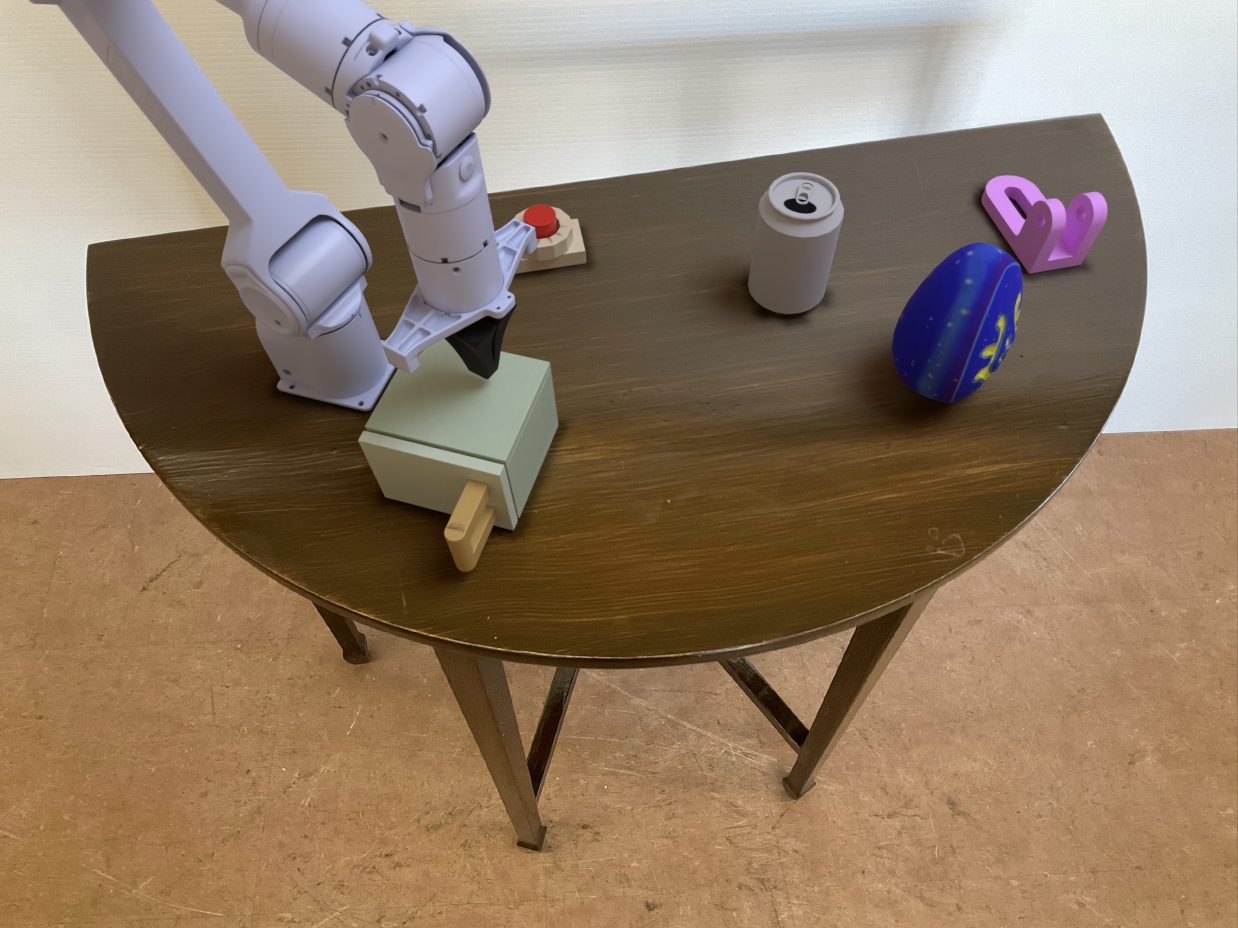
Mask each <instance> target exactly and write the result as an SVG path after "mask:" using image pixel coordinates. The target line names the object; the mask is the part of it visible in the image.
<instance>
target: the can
mask: <svg viewBox="0 0 1238 928" xmlns="http://www.w3.org/2000/svg"><path fill="white" fill-rule="evenodd" d="M844 208H845V207H844V205H843V202H842V200H841V194H840V192H839V188H838V187H836V185H835V184H834V183H833V182H832V181H830V180H828V179H827V178H826V177H824V176H821V175H819V174H816V173H812V172H805V171H804V172H803V171H800V172H799V171H798V172H791V173H787V174H784V175H781V176H779V177H777V178H776V179H775V180H773V181H772V182H771V184H770V186H769V187H768V189H767V190H766V191H765V192H764V194H763V195H762V196H761V197H760V199H759V204H758V209H757V216H756V225H755V232H754V236H753V237H754V238H753V246H752V253H751V258H750V259H751V260H750V265H749V266H750V267H749V274H748V281H747V287H748V291H749V294H750V295H751V297H752V298H753V300H754V301H755V302H757V304H759V305H760V306H762V307H763V308H765V309H767V310H769V311H771V312H774V313H776V314H781V315H792V314H801V313H804V312H807V311H810V310H812V309H813V308H815V307H816V306H817V305H819V304H820V303H821V302H822V299H823V298H824V296H825V293H826V288H827V286H828V285H827V284H828V282H829V277H830V273H831V270H832V264H833V260H834V256H835V253H836V249H837V245H838V242H839V241H838V240H839V238H840V237H839V236H840V232H841V228H842V225H843V224H842V223H843V220H844V215H845V209H844Z"/></svg>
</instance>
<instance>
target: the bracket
mask: <svg viewBox="0 0 1238 928" xmlns="http://www.w3.org/2000/svg"><path fill="white" fill-rule="evenodd" d="M1010 199H1012V200H1014V201H1016V203H1017V204H1018V206H1019V207H1020V209H1021V210H1022V212H1023V213H1024V214H1025V215H1026V218H1023V217H1022V215H1021V214H1020V212H1019V211H1018V210H1017V208H1016V206H1015V205H1014V204H1013V203H1012V201H1011V200H1010ZM981 204H982V206H983V208H984V209H985V211H986V212H987V213H988V215H989V217H990V218H991V220H992V221H993V223H994V224H995V226H996V227H997V229H998V230H999V231H1000V233H1001V234H1002V237H1004V239H1005V240H1006V242H1007V243H1008V245H1009V247H1010V248H1011V250H1012V251H1013V252H1014V254H1015V255H1016V257H1017V258H1018V260H1019V261H1020V263H1021V264H1022V265H1023V268H1024V269H1025V270H1026V271H1027V273H1028V274H1029V275H1031V274H1035V273H1041V272H1046V271H1047V272H1048V271H1053V270H1058V269H1065V268H1071V267H1076V266H1081V265H1082V264H1083V262H1084V260H1086V257H1087V256H1088V254H1089V251H1090V250H1091V248H1092V246H1093V245H1094V243H1095V241H1096V239H1097V238H1098V236H1099V234H1100V233H1101V231H1102V229H1103V227H1104V226H1105V224H1106V221H1107V218H1108V204H1107V200H1106V198H1105V197H1104V195H1103V194H1102V193H1100V192H1098V191H1090V192H1089V191H1088V192H1083V193H1079V194H1076V195H1075V196H1074V197H1073V198H1072V199H1071V201H1070V203H1069V205H1068V206H1067V208H1065V205H1064V204H1063V202H1062V201H1060V199H1059V198H1054V197H1053V198H1048V199H1047V198H1046V197H1045V195H1044V194H1043V193H1042V192H1041V190H1040V189H1039V187H1038V186H1037V185H1036V184H1034V183H1033V182H1032V181H1030V180H1029V179H1026V178H1025V177H1021V176H1017V175H1011V174H1007V175H1006V174H1005V175H998V176H995V177H993V178H992V179H990V180H989V181H988V182H987V183H986V185H985V188H984V191H983V192H982V196H981Z"/></svg>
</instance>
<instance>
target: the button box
mask: <svg viewBox="0 0 1238 928" xmlns="http://www.w3.org/2000/svg"><path fill="white" fill-rule="evenodd" d="M551 207H552V208H553V209H554V210H555V213H556V221H557V231H556V233H555V234H554V235H553V236H551V237H549V238H544V239H536V240H537V248H536V249H535V250H534V251H533V252H532V253H531V254H525V253H523V255H522V258H521V260H520V263H519V265H518V267H517V270H516V272H515V274H516V275H517V274H523V273H529V272H536V271H543V270H549V269H556V268H563V267H564V268H565V267H570V266H576V265H584V264H587V254H586V253H587V252H586V247H585V244H584V238H583V235H582V230H581V227H580V223H579V222H580V221H579V219H578V218H572V219H571V216H570V215H569V214H567V213H566V212H565V211H563V210H562V209H561V208H559V207H554V206H551ZM528 208H529V207H527V208H526V209H524V210H522V211H520V212H518V213H516V214H515V216H514V217H513V218H514V219H516V220H519V221H521V222H523V223H524V218H523V215H524V212H525V211H526V210H527V209H528Z"/></svg>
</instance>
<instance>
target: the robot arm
mask: <svg viewBox="0 0 1238 928" xmlns="http://www.w3.org/2000/svg"><path fill="white" fill-rule="evenodd" d="M214 1H215V2H217V3H219V4H221V5H222V6H224V7H225V8H227V9H229V10H230V11H232V12H233V13H235V14H236V15H238V16H240V18H241V21H242V24H243V29H244V30H243V31H244V35H245V37H246V41H247V43H248V45H249V46H250V48H251V49H252V51H253V52H255V53H256V54H258V55H259V56H261V57H262V58H263V59H265V60H266V61H268V62H269V63H270V64H272V66H275V67H276V68H277V69H279V70H280V71H281V72H283V73H284V74H286V75H287V76H288V77H290V78H291V79H292V80H294V81H295V82H297V83H298V84H300V85H301V86H302V87H304V88H305V89H307V91H309V92H311V93H312V94H314V95H315V96H316V97H317V98H319V99H320V100H322V101H323V102H324V103H326V104H327V105H329V106H330V107H332V108H333V109H334V110H335V111H337V112H338V113H340V114H341V115H342V116H344V117H345V118H343V120H344V123H345V126H346V128H347V130H348V132H349V134H350V136H351V137H352V139H353V141H354V142H355V144H356V145H357V147H358V148H359V149H360V151H361V152H362V153H363V154H364V155H365V158H367V160H368V161H369V162H370V163H371V166H373V168H374V170H375V173H376V176H377V180H378V182H379V185H380V186H382V187H383V188H384V191H385V192H386V193H387V195H389V196H392V199H393V203H394V206H395V209H396V212H397V213H396V214H397V216H398V220H399V223H400V226H401V229H402V233H403V236H404V240H405V242H406V246H407V249H408V253H409V257H410V260H411V262H412V263H411V264H412V267H413V270H414V273H415V277H416V279H417V284H416V285H415V287H414V290H413V292H412V294H411V296H410V298H409V299H408V302H407V304H406V305H405V308H404V310H403V311H402V313H401V316H400V317H399V320H398V322H397V324H396V325H395V327H394V329H393V330H392V331H391V333H390V335H389V336H388V337H387V338H386V339H385V340H383V339H381V338H380V334H379V331H378V329H377V327H376V325H375V321H374V319H373V317H372V313H371V310H370V308H369V306H368V303H367V301H366V297H365V295H364V291H365V289H366V287H368V282H367V280H366V277H365V273H366V272H368V271H369V270H370V269H372V266H373V255H372V254H373V253H372V251H371V248H370V245H369V244H368V241H367V239H366V237H365V236H364V234H363V232H361V230H360V229H359V228H358V227H357V225H355V224H354V223H353V222H352V221H351V220H349V219H348V218H347V217H345V216H344V215H343V213H341V212H340V211H339V209H338V208H337V207H336V206H335V205H334V203H333V202H332V201H331V200H330V199H329V197H328V196H327V195H326V194H324V193H321V192H318V191H314V190H308V189H307V190H306V189H293V188H292V189H291V188H289V187H288V186H287V185H286V184H285V182H284V181H283V180H282V178H281V176H280V175H279V174H278V173H277V171H276V170H275V169H274V167H273V166H272V164H271V163H270V161H269V160H268V159H267V157H266V156H265V155H264V153H263V152H262V151H261V150H260V148H259V146H258V145H257V143H256V142H255V141H254V140H253V138H252V137H251V136H250V134H249V133H248V131H247V130H246V128H245V127H244V126H243V125H242V123H241V122H240V120H239V119H238V117H237V116H236V115H235V114H234V112H233V111H232V109H231V108H230V107H229V105H228V104H227V103H226V101H225V100H224V98H223V97H222V95H220V93H219V92H218V90H217V89H216V88H215V86H214V85H213V84H212V82H211V80H210V79H209V78H208V76H207V75H206V74H205V72H204V70H203V69H202V68H201V67H200V66H199V64H198V63H197V62H196V60H195V58H193V56H192V55H191V53H190V52H189V51H188V49H187V48H186V46H185V45H184V43H182V41H181V40H180V37H178V35H177V34H176V33H175V31H174V30H173V29H172V27H171V26H170V24H169V23H168V22H167V21H166V19H165V18H164V16H163V14H161V12H160V11H159V9H158V8H157V7H156V5H155V3H154V2H153V1H152V0H28V2H29V3H31V4H33V5H50V6H51V5H53V6H57V7H58V8H59V10H60V11H61V12H62V14H63V15H64V16H65V17H66V19H68V21H69V22H70V23H71V25H72V26H73V27H74V28H75V29H76V31H77V32H78V33H79V34H80V36H81V37H82V38H83V40H84V41H85V42H86V43H87V45H88V46H89V47H90V48H91V50H92V51H93V52H94V53H95V54H96V56H97V57H98V58H99V59H100V61H101V63H102V64H104V66H105V67H106V68H107V70H108V71H109V72H110V73H111V75H112V76H113V78H115V80H116V81H117V82H118V84H119V85H120V86H121V87H122V88H123V90H124V91H125V92H126V93H127V95H128V96H129V97H130V98H131V99H132V101H133V102H134V103H135V104H136V106H137V107H138V108H139V109H140V111H141V112H142V114H143V115H144V116H145V117H146V118H147V120H148V121H149V122H150V123H151V124H152V126H153V127H154V128H155V130H156V131H157V132H158V134H160V136H161V137H162V139H163V140H164V141H165V142H166V143H167V144H168V146H169V147H170V149H171V150H172V151H173V152H174V153H175V155H176V156H177V157H178V158H179V159H180V161H181V162H182V163H183V165H184V166H185V167H186V168H187V170H188V171H189V172H190V173H191V175H192V176H193V177H194V179H196V181H197V182H198V184H199V185H200V186H201V187H202V188H203V190H204V191H205V192H206V193H207V195H208V196H209V197H210V199H211V200H212V201H213V202H214V204H215V205H216V206H217V207H218V208H219V209H220V211H221V212H222V213H223V215H224V216H225V217H226V218H227V220H228V229H227V233H226V238H225V241H224V245H223V246H224V247H223V251H222V254H221V261H220V267H221V268H222V269H223V270H224V271H225V274H226V275H227V277H228V279H229V280H230V281H231V282H232V284H233V285H234V287H235V288H236V290H237V292H238V294H239V298H240V299H241V301H242V303H243V304H244V306H245V307H246V308H247V310H248V311H249V313H251V315H253V316H254V318H255V328H256V329H255V330H256V334H257V337H258V339H259V342H260V344H261V345H262V347H263V349H264V351H265V352H266V354H267V356H268V358H269V360H270V362H271V363H272V365H273V367H274V368H275V370H276V373H277V374H278V376H279V378H280V379H279V381H278V382H277V385H276V388H277V389H278V391H280V392H283V393H287V394H292V395H296V396H299V397H304V398H309V399H312V400H316V401H320V402H324V403H329V404H333V405H337V406H342V407H345V408H350V409H354V410H358V411H362V412H370V411H372V409H373V407H374V406H375V404H376V402H377V401H378V400H379V399H378V398H379V397H380V396H381V394H382V392H383V390H384V388H385V387H386V385H387V383H388V382H389V380H390V378H391V376H392V375H393V373H394V371H395V370H396V369H397V370H398V369H400V370H402V371H404V372H406V373H408V374H412V373H413V372H414V371H415V370H416V369H417V368H418V367H419V362H418V359H417V357H418V356H419V355H420V354H421V353H422V352H423V351H424V350H425V349H426V348H428V347H429V346H431V345H433V344H435V343H437V342H439V341H440V340H442V339H445V340H446V341H447V342H448V343H449V344H450V345H451V346H452V347H453V348H454V350H455V351H456V352H457V353H458V355H459V356H460V358H461V359H462V360H463V362H464V364H465V365H466V367H467V369H468V370H469V371H471V372H473V373H475V374H477V375H479V376H481V377H482V378H484V379H486V380H487V379H489V378H490V377H491V376H492V375H493V374H494V373H495V372H496V371H497V370H498V366H499V360H500V353H501V351H502V347H503V342H504V337H505V333H506V329H507V327H508V324H509V322H510V319H511V317H512V316H513V314H514V312H515V310H516V308H517V307H518V304H517V299H516V295H515V294H514V292H512V291H510V290H509V289H510V286H511V285H512V282H513V279H514V277H515V272H516V270H517V267H518V265H519V263H520V260H521V258H522V255H523V253H525V254H531V253H532V252H533V251H534V250H535V249H536V248H537V240H536V232H535V227H533V226H530V225H528V224H526V223H523V222H521V221H519V220H516V219H514V218H515V217H513V218H512V219H511V220H510V221H509V222H507V223H506V224H505V225H504V226H502V227H500V228H498V229H497V230H495V226H494V222H493V216H492V210H491V205H490V200H489V195H488V190H487V185H486V179H485V173H484V167H483V162H482V157H481V150H480V146H479V141H478V135H477V132H474V131H475V130H476V129H477V128H478V127H479V125H481V123H482V122H483V120H484V119H485V118H486V117H487V115H488V114H489V112H490V109H491V105H492V93H491V88H490V83H489V80H488V78H487V75H486V73H485V71H484V69H483V67H482V66H481V64H480V62H479V61H478V60H477V58H476V56H475V55H474V54H473V53H472V52H471V50H469V49H468V47H466V46H465V44H463V43H462V42H460V41H459V39H457V38H456V36H454V35H453V33H451V32H450V31H448V30H447V29H444V28H441V27H439V26H433V25H423V26H417V25H414V24H413V23H411V22H410V21H408V20H405V21H403V20H400V21H399V22H394V21H392V20H390V19H389V18H388V17H386V16H385V15H384V14H382V13H381V12H379V11H378V10H377V9H375V8H374V7H372V5H370V4H369V3H367V2H366V1H365V0H214Z"/></svg>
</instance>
